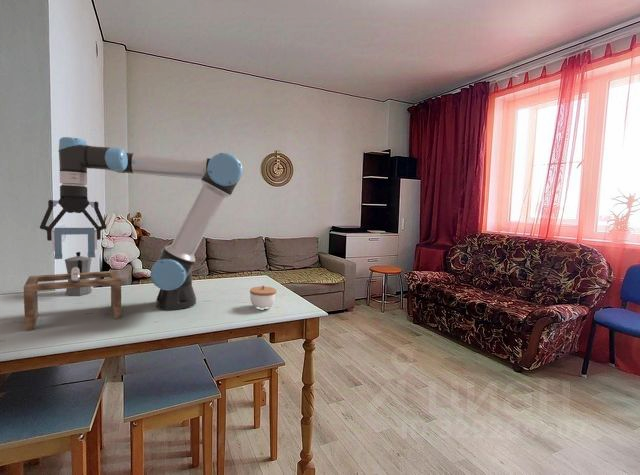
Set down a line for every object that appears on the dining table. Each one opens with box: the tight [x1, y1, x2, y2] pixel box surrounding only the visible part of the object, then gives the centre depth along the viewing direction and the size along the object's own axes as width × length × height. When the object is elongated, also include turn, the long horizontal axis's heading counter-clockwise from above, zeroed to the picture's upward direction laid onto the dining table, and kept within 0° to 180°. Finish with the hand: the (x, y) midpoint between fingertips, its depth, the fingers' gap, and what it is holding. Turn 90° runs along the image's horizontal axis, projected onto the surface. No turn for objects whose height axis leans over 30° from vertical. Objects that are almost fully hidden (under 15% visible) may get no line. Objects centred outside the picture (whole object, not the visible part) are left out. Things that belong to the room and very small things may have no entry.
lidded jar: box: [249, 285, 277, 308], centre depth 141 cm, size 11×11×9 cm
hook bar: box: [71, 267, 80, 283], centre depth 119 cm, size 2×15×2 cm, turn 35°
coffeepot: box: [64, 251, 93, 297], centre depth 146 cm, size 15×9×18 cm, turn 39°
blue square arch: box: [53, 227, 96, 260], centre depth 117 cm, size 11×5×10 cm, turn 126°
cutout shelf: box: [23, 270, 122, 332], centre depth 120 cm, size 26×16×14 cm, turn 125°
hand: (75, 249), depth 117 cm, fingers closed on blue square arch, 11 cm apart
